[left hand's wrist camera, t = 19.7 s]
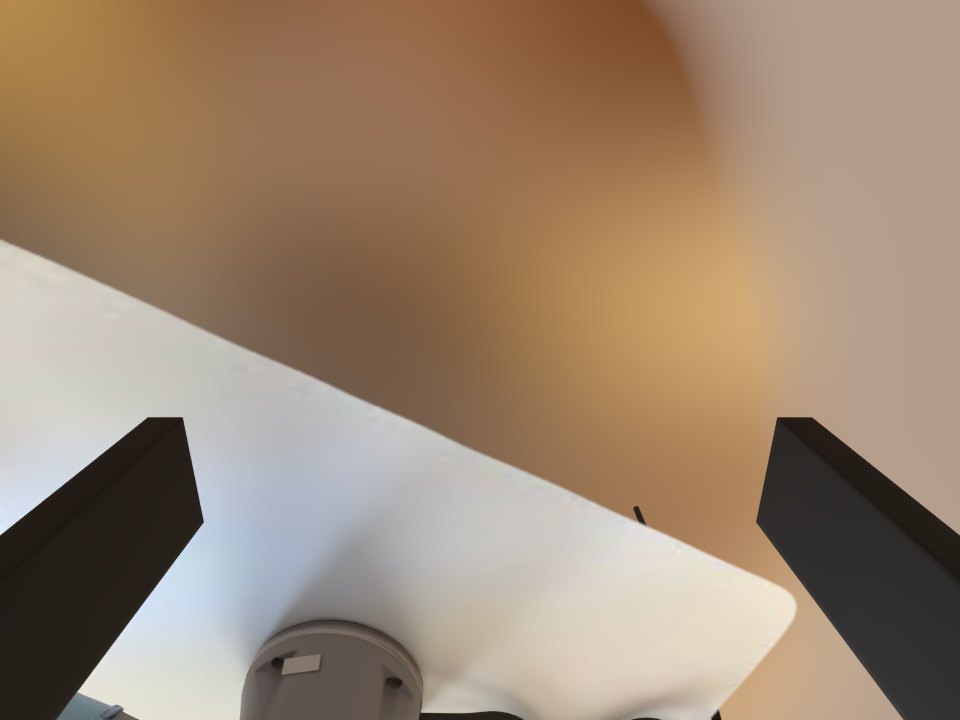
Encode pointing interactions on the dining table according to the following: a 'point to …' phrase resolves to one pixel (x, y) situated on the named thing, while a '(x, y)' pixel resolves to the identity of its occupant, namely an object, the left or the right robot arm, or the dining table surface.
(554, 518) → the dining table surface
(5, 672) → the left robot arm
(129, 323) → the dining table surface
